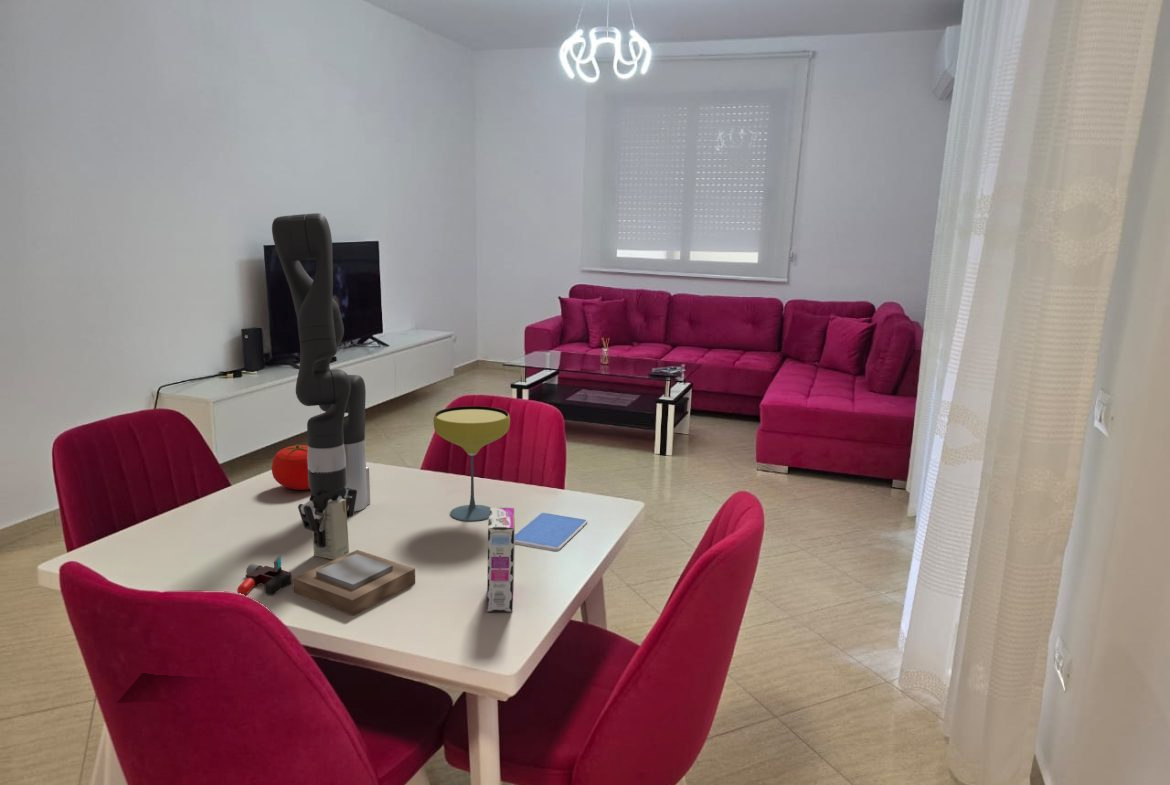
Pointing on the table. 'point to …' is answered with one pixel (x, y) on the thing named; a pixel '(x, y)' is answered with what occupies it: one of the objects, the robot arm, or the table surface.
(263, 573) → the toy gun
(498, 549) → the candy bar box
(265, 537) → the table surface
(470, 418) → the cocktail glass
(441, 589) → the table surface
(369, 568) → the walnut plinth
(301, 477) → the tomato
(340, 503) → the skincare box
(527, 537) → the tablet computer
